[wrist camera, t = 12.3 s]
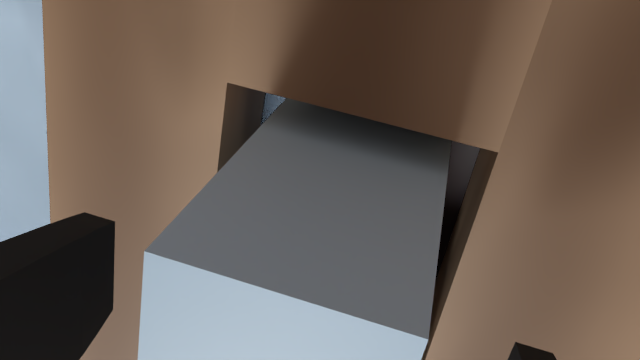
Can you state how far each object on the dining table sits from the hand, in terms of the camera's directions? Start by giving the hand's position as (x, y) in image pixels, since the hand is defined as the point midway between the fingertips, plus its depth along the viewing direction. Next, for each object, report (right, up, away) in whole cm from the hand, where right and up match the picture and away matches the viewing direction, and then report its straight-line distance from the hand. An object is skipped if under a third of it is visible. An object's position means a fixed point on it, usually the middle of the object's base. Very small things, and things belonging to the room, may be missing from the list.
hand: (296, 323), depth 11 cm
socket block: (+1, +3, +5) cm, 6 cm away
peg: (+1, +3, +5) cm, 6 cm away
